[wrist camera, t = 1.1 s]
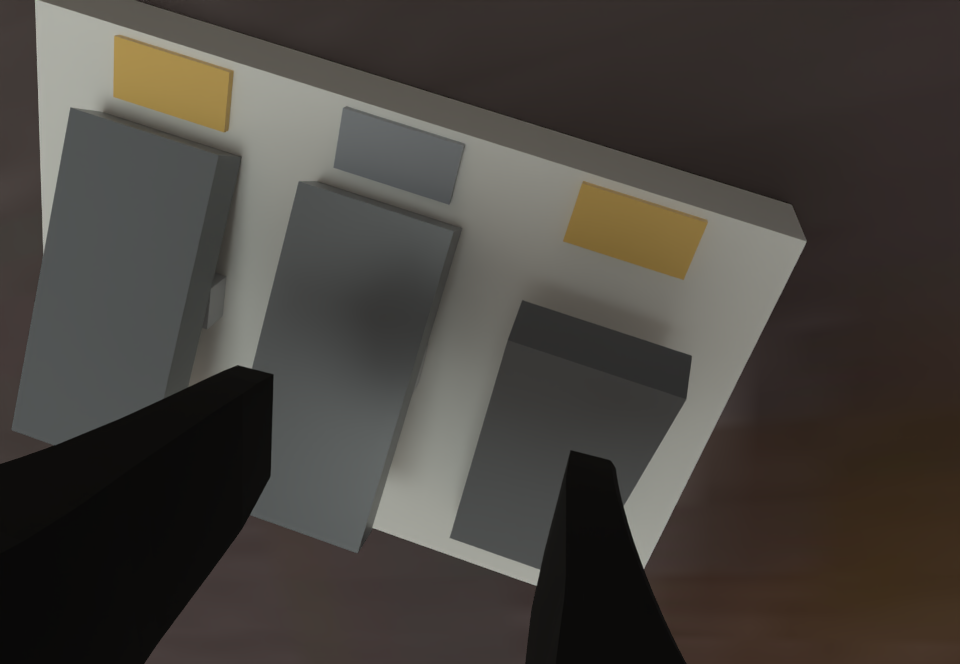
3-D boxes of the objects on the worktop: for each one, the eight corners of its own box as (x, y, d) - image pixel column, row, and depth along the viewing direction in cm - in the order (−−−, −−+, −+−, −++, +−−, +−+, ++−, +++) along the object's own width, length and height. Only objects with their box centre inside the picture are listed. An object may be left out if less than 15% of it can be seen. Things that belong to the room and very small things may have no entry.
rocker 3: (692, 355, 16) (686, 399, 15) (586, 544, 22) (578, 583, 21) (522, 299, 16) (507, 339, 15) (462, 501, 22) (449, 537, 21)
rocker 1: (241, 156, 19) (218, 155, 18) (171, 460, 21) (145, 478, 19) (102, 111, 19) (70, 107, 18) (43, 416, 21) (11, 429, 20)
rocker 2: (462, 228, 18) (454, 231, 17) (371, 531, 20) (357, 553, 19) (317, 181, 19) (298, 181, 17) (239, 485, 20) (218, 503, 19)
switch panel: (791, 204, 19) (812, 255, 16) (625, 555, 25) (619, 637, 22) (103, -10, 20) (9, 2, 17) (100, 372, 26) (30, 428, 23)
